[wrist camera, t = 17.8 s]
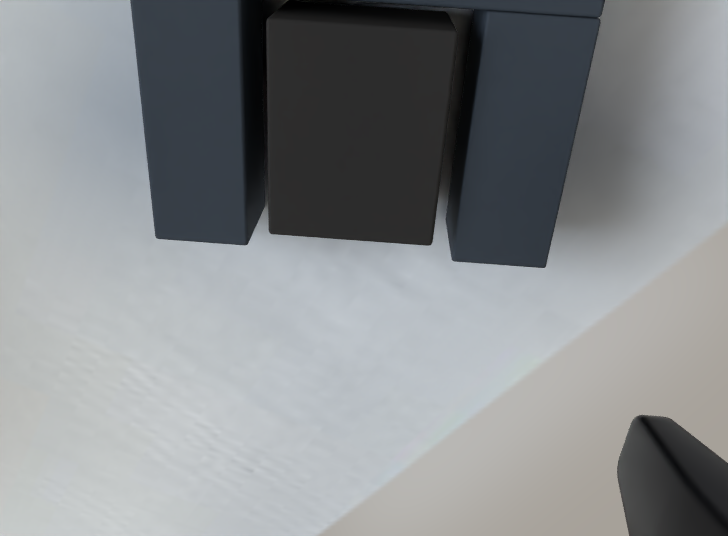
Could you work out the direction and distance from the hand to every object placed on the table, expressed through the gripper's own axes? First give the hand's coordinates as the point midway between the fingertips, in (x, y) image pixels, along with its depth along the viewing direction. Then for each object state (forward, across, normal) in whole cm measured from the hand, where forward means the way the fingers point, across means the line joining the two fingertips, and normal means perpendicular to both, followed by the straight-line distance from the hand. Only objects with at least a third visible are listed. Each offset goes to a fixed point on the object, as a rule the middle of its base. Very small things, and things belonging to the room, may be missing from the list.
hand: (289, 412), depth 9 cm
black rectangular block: (+11, 0, -1) cm, 11 cm away
